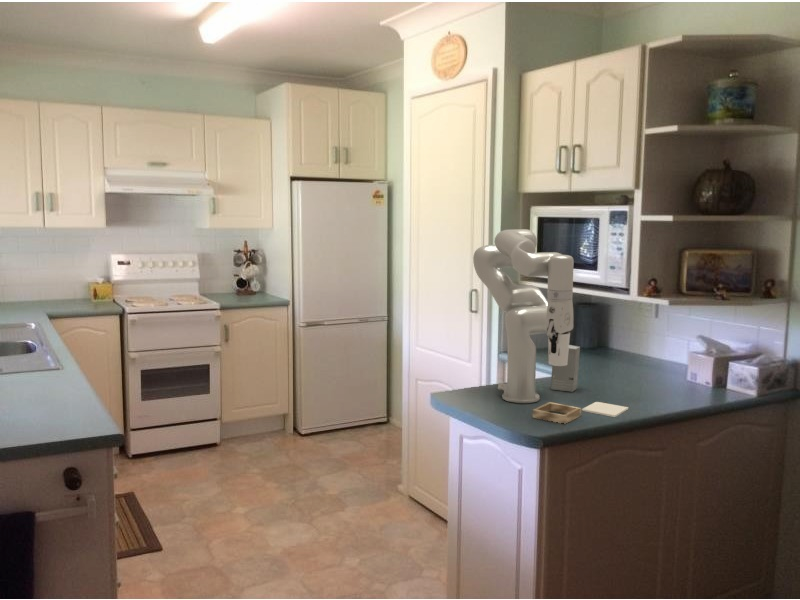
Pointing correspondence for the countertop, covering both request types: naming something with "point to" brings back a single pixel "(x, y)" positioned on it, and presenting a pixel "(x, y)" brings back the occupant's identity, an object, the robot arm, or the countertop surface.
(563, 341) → the drinking glass
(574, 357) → the skincare box
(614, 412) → the coaster
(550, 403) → the wooden frame
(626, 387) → the countertop surface
